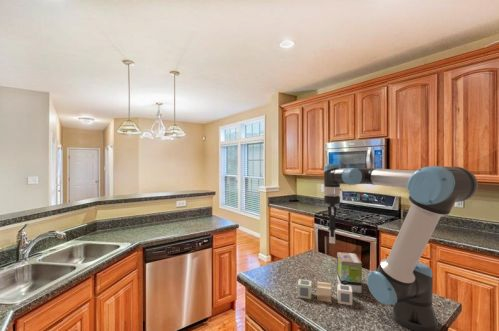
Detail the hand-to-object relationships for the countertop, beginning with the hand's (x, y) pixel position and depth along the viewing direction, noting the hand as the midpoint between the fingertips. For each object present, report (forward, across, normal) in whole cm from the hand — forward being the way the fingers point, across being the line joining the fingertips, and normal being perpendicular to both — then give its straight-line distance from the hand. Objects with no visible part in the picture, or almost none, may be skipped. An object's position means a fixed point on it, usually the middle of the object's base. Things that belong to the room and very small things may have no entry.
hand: (332, 242), depth 125 cm
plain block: (+24, -8, +4) cm, 25 cm away
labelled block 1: (+24, -8, +13) cm, 28 cm away
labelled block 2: (+24, -8, -5) cm, 26 cm away
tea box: (+24, +9, -8) cm, 27 cm away
